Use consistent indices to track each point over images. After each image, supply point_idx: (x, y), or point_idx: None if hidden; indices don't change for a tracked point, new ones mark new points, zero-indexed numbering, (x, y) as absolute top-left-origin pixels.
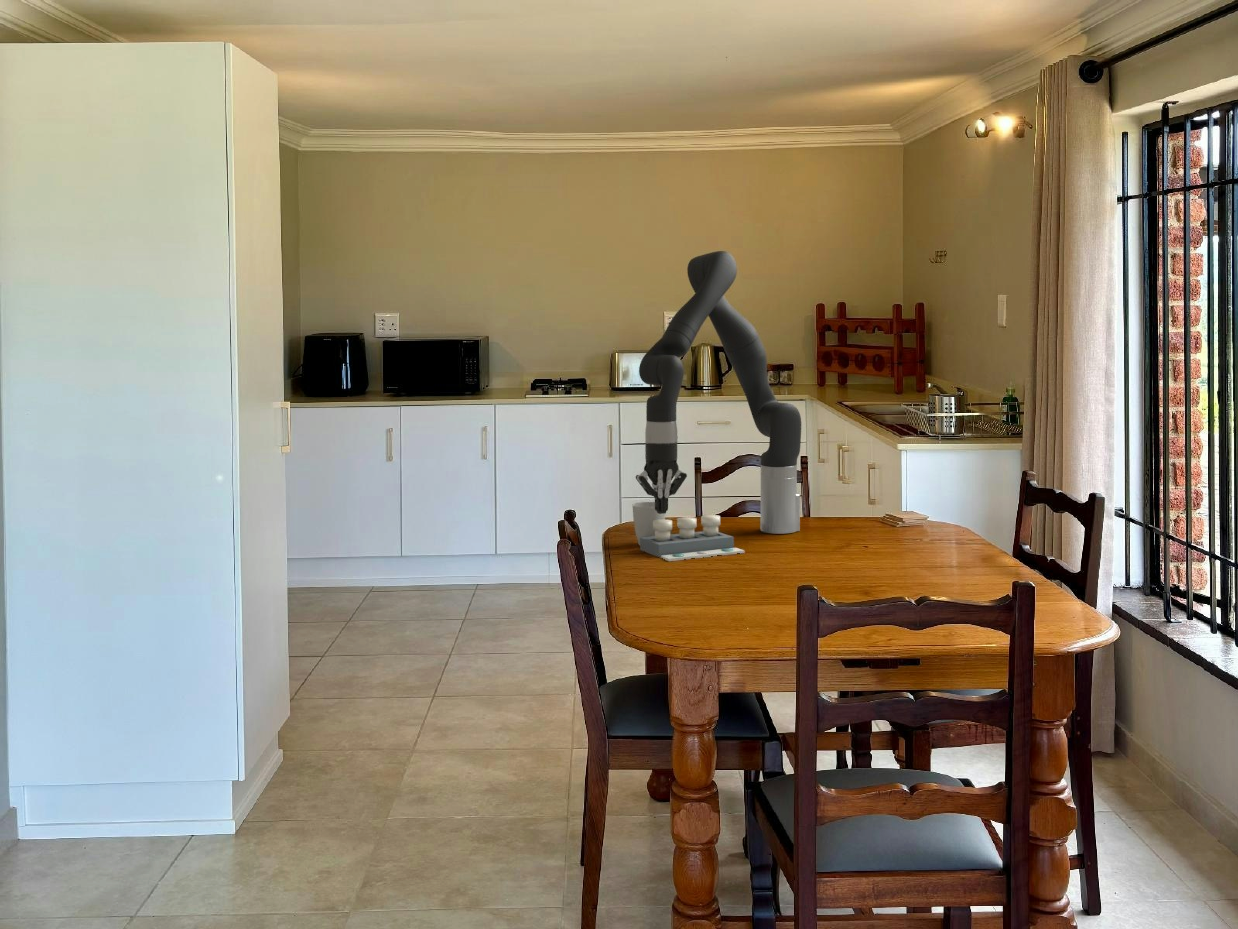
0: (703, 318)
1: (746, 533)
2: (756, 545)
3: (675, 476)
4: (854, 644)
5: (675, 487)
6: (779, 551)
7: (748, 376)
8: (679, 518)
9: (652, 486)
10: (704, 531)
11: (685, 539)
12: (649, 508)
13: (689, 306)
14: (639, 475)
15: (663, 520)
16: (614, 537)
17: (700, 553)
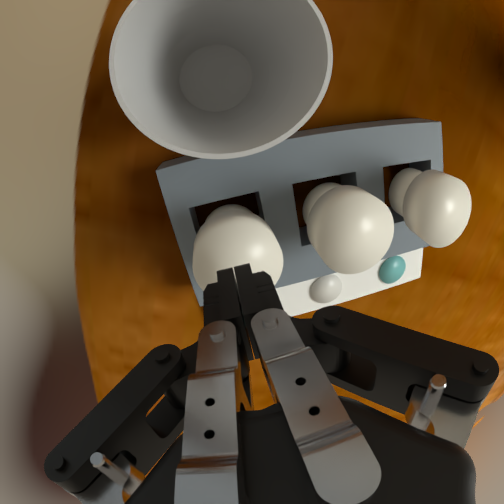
0: None
1: (499, 59)
2: (472, 198)
3: (412, 415)
4: None
5: (357, 384)
6: (469, 270)
7: None
8: (332, 222)
9: (190, 378)
10: (396, 202)
11: (309, 245)
12: (197, 156)
13: None
14: (79, 499)
15: (246, 254)
16: None
17: (314, 300)
